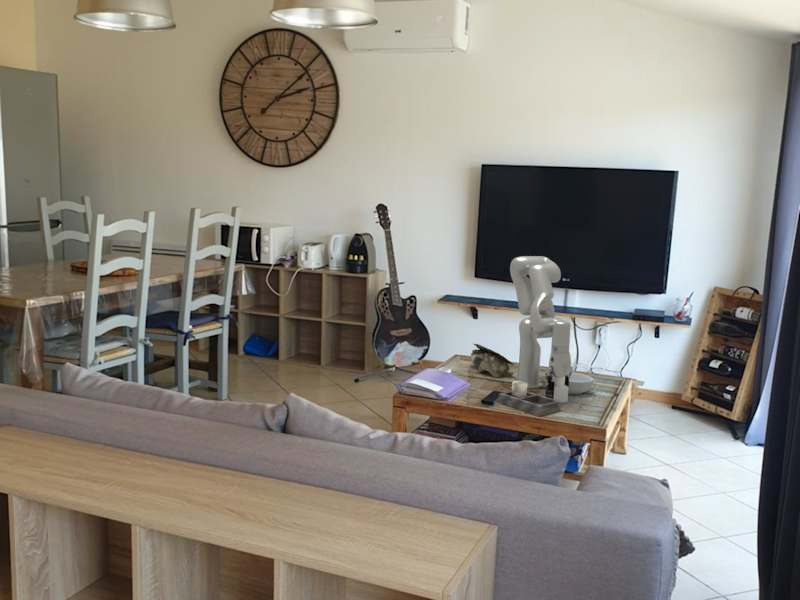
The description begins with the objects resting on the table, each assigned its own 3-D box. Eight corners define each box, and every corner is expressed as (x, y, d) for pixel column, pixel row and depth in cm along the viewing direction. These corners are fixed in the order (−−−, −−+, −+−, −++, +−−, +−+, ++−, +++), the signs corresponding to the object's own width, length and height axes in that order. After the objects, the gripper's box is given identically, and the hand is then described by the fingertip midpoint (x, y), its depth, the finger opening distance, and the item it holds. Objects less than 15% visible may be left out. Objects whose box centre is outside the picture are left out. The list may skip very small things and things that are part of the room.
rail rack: (498, 402, 341) (499, 382, 339) (519, 397, 349) (520, 377, 348) (539, 416, 324) (540, 394, 322) (560, 410, 332) (561, 389, 331)
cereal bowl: (592, 398, 352) (593, 383, 351) (554, 395, 355) (555, 379, 354) (591, 388, 368) (592, 373, 367) (554, 385, 372) (555, 370, 371)
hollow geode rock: (473, 373, 407) (456, 353, 401) (490, 355, 409) (473, 335, 404) (501, 386, 381) (482, 365, 376) (518, 367, 383) (500, 346, 378)
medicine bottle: (545, 399, 349) (546, 372, 347) (559, 398, 351) (561, 371, 349) (552, 403, 342) (554, 376, 340) (567, 402, 344) (569, 375, 342)
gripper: (554, 353, 334) (551, 393, 337) (579, 348, 345) (577, 387, 348) (540, 350, 340) (538, 389, 342) (566, 346, 351) (563, 384, 353)
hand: (558, 388), depth 345 cm, fingers open, 9 cm apart
